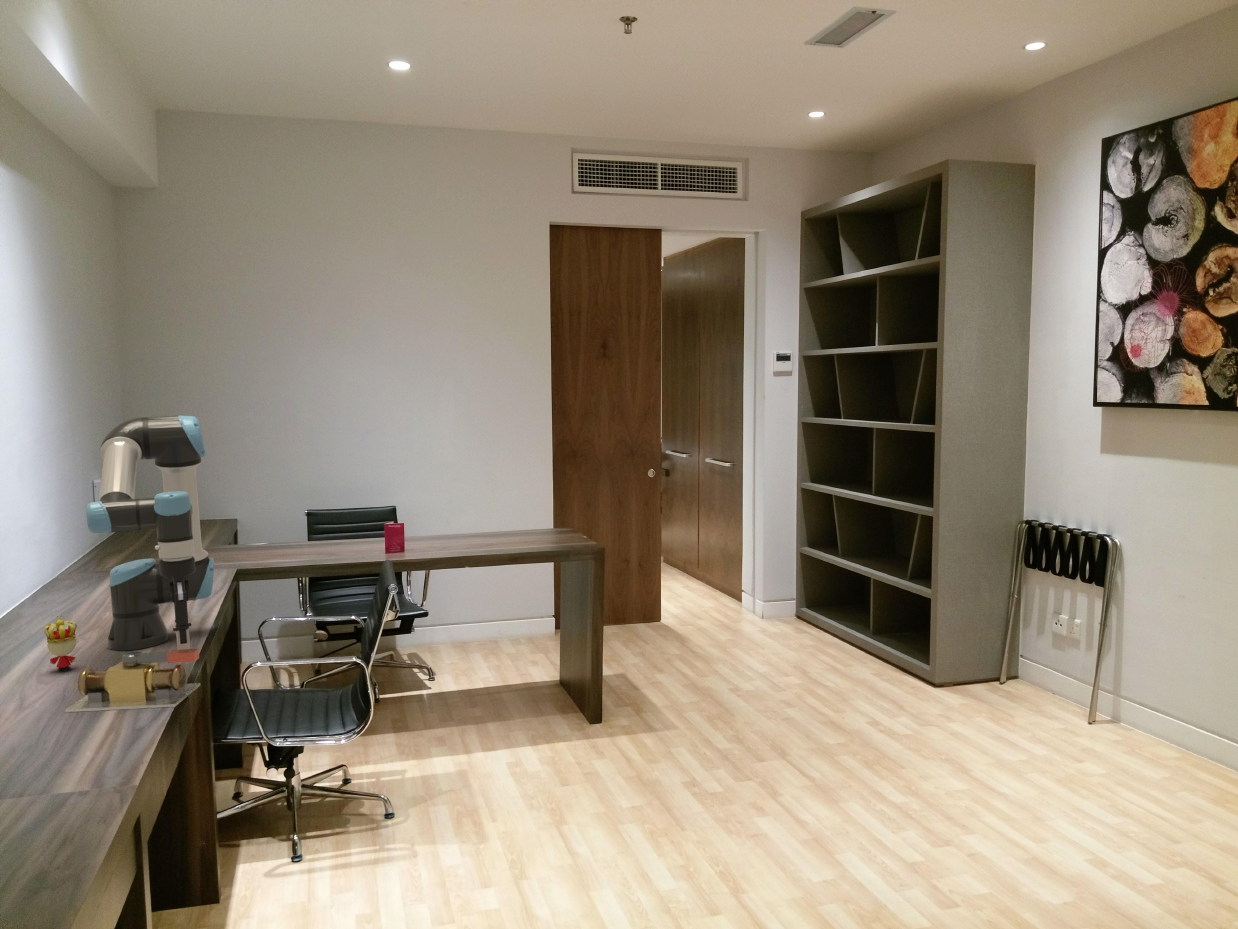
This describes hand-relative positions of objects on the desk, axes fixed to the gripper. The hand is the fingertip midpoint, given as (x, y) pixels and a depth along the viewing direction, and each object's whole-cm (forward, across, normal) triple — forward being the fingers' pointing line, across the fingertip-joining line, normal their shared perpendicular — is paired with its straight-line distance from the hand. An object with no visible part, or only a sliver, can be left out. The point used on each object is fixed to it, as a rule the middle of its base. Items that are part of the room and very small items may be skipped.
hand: (184, 655), depth 208 cm
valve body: (+9, -1, -11) cm, 14 cm away
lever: (0, +1, -5) cm, 5 cm away
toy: (+9, -35, -27) cm, 45 cm away
